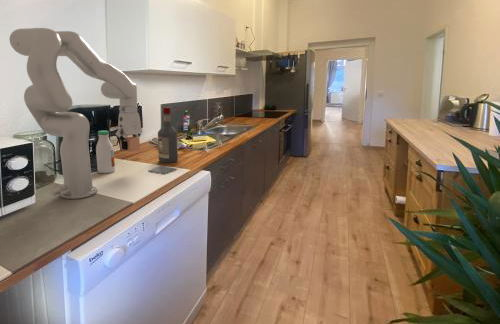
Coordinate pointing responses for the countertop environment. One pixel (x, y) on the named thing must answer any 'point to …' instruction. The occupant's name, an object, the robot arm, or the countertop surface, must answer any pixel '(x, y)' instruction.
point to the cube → (132, 144)
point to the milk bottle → (105, 153)
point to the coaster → (162, 169)
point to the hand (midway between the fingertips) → (130, 148)
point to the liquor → (167, 140)
